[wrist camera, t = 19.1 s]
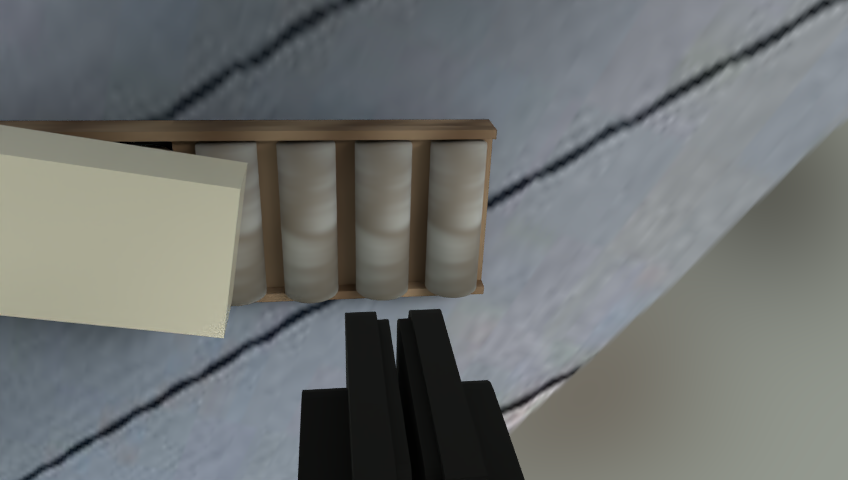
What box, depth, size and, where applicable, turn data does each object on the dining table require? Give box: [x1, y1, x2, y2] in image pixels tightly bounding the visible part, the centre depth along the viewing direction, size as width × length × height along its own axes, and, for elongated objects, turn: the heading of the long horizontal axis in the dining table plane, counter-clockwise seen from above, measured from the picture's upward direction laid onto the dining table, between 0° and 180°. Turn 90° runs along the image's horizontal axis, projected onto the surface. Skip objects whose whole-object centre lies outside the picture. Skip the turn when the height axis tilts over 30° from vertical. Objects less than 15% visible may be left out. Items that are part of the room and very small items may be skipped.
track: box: [0, 119, 497, 306], centre depth 36 cm, size 28×10×6 cm, turn 88°
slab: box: [0, 125, 248, 338], centre depth 33 cm, size 12×8×4 cm, turn 78°
